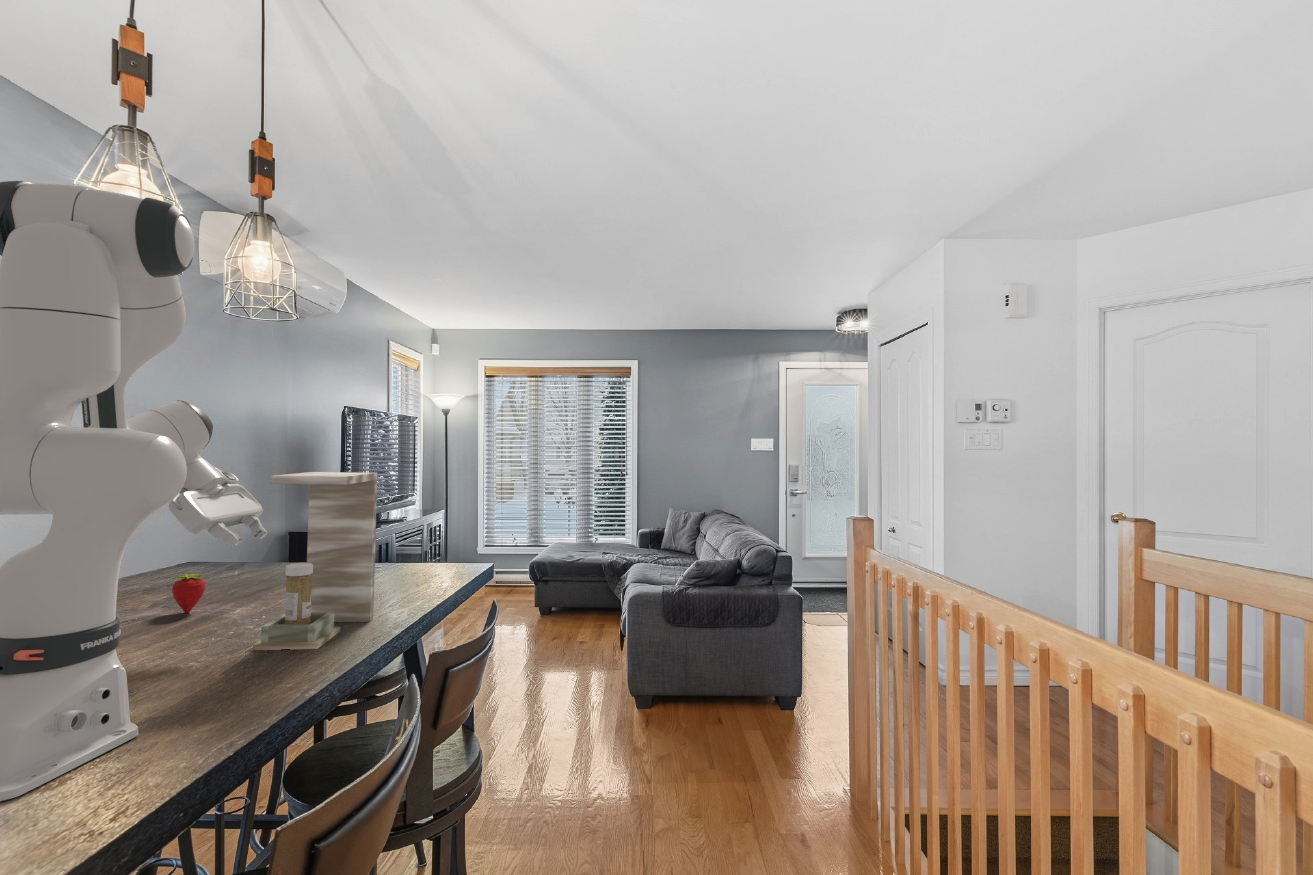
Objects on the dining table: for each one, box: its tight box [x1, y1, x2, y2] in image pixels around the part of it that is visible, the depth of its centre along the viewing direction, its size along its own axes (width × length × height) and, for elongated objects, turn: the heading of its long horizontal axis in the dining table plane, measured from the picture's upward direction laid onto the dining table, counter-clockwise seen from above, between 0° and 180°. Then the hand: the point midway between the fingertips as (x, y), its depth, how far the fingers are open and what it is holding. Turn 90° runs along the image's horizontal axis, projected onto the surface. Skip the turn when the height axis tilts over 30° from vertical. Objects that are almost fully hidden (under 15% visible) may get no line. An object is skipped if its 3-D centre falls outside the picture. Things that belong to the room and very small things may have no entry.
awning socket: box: [252, 471, 378, 651], centre depth 123 cm, size 20×14×32 cm
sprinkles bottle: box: [284, 562, 313, 624], centre depth 118 cm, size 5×5×14 cm
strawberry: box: [171, 566, 207, 614], centre depth 136 cm, size 6×8×10 cm
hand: (250, 539), depth 117 cm, fingers open, 8 cm apart
